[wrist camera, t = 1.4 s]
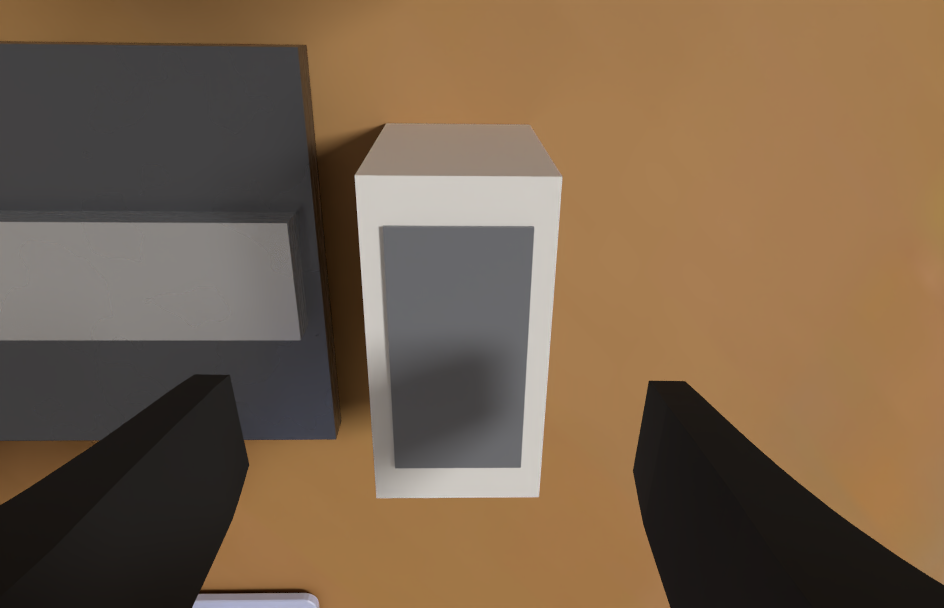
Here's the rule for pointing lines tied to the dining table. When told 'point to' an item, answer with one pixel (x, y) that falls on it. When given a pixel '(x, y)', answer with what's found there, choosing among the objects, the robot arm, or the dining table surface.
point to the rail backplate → (160, 237)
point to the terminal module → (458, 306)
